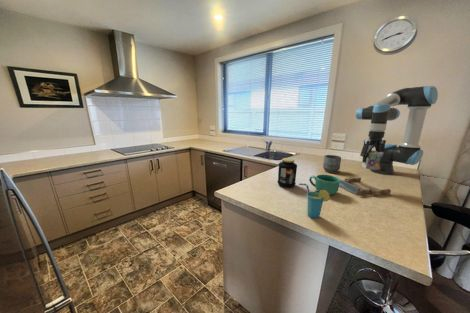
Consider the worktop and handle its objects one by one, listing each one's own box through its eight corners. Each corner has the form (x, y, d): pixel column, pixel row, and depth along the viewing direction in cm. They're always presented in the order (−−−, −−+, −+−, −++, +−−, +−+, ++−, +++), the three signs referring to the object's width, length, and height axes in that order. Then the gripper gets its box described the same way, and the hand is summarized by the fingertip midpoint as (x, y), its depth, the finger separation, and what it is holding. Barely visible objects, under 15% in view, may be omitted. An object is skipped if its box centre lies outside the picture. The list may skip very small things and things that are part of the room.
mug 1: (340, 192, 111) (342, 177, 108) (333, 199, 102) (336, 183, 100) (312, 185, 122) (314, 171, 120) (304, 190, 113) (306, 176, 111)
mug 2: (383, 171, 107) (386, 154, 105) (364, 169, 111) (367, 152, 108) (376, 166, 118) (379, 150, 116) (359, 164, 121) (362, 149, 119)
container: (299, 184, 122) (300, 158, 118) (290, 190, 113) (292, 162, 109) (282, 180, 130) (283, 156, 126) (273, 185, 121) (274, 159, 117)
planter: (339, 170, 152) (341, 156, 149) (338, 174, 142) (340, 159, 139) (323, 168, 158) (325, 154, 155) (321, 172, 148) (323, 157, 145)
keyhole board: (359, 181, 129) (360, 175, 128) (389, 194, 108) (391, 187, 107) (333, 183, 124) (334, 177, 123) (360, 197, 104) (361, 190, 103)
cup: (293, 213, 87) (296, 184, 84) (298, 207, 93) (301, 179, 90) (325, 224, 79) (330, 192, 76) (328, 216, 85) (333, 186, 82)
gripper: (384, 129, 114) (377, 164, 120) (357, 130, 110) (351, 166, 115) (397, 131, 107) (389, 167, 113) (368, 131, 103) (361, 169, 108)
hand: (370, 167), depth 114 cm, fingers closed on mug 2, 8 cm apart
